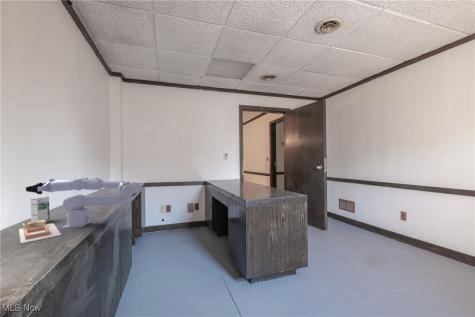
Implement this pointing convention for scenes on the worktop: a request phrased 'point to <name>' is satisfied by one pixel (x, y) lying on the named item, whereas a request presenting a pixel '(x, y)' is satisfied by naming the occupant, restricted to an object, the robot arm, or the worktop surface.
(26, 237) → the terracotta frame
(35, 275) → the worktop surface
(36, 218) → the syrup box
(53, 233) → the white mat
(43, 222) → the maple block
